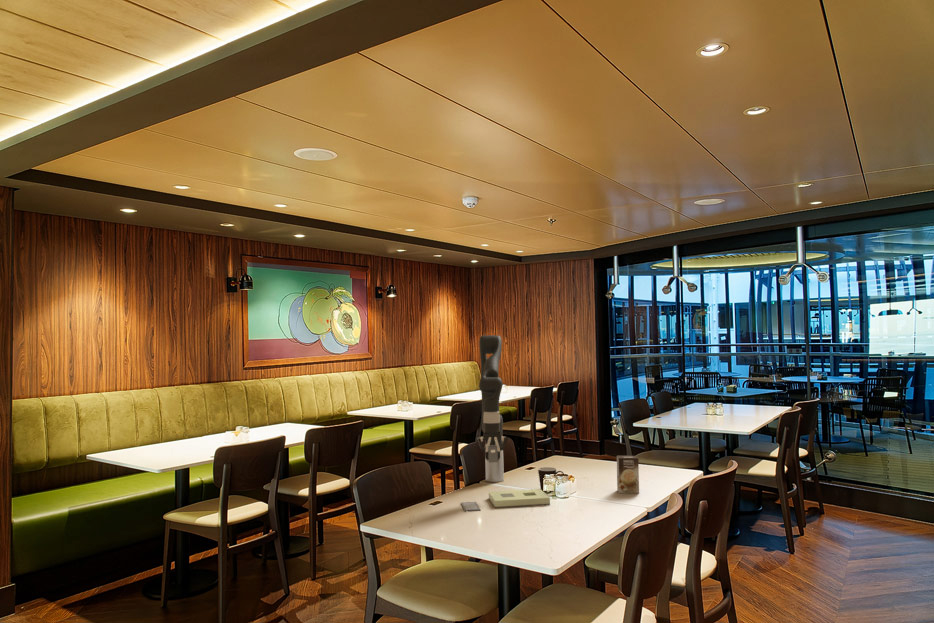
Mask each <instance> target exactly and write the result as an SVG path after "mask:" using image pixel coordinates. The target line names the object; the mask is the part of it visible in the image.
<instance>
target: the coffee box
mask: <svg viewBox="0 0 934 623" xmlns="http://www.w3.org/2000/svg"><path fill="white" fill-rule="evenodd" d="M639 469H640V468H639V457H638V456H636V455H616V480H617V481H616V484H617V486H616V487H617V488H616V489H617V492H618V493H619V494H640V475H639V474H640V473H639Z"/></svg>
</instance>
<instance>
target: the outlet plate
mask: <svg viewBox="0 0 934 623" xmlns="http://www.w3.org/2000/svg"><path fill="white" fill-rule="evenodd" d="M488 500H489V501H490V502H491V504H492V506H493V507H494V508H495V509H500V508H503V509H504V508H519V507H521V508H522V507H535V506H549V505H551V498H550V496H549V495H547V493H546V492H543V491H542V490H541V488H533V489H517V490H498V491H488Z"/></svg>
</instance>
